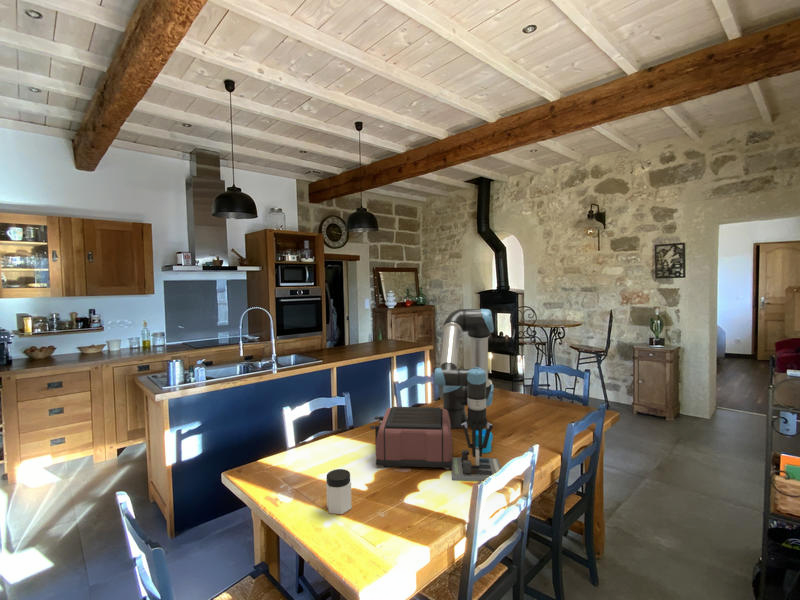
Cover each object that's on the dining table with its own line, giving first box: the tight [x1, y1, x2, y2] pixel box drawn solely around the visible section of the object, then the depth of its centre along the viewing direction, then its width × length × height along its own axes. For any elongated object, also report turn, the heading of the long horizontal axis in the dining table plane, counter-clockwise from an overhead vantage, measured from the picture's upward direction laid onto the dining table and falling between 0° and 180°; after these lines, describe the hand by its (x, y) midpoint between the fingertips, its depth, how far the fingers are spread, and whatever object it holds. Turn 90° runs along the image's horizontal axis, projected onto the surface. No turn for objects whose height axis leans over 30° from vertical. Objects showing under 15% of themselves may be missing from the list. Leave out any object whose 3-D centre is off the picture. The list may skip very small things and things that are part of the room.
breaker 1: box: [461, 449, 470, 462], centre depth 172 cm, size 3×3×4 cm
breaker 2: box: [463, 460, 471, 473], centre depth 162 cm, size 3×3×4 cm
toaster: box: [369, 406, 453, 471], centre depth 184 cm, size 31×36×18 cm
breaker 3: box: [468, 454, 476, 468], centre depth 167 cm, size 3×3×4 cm
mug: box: [476, 428, 494, 454], centre depth 189 cm, size 12×8×8 cm
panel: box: [451, 456, 502, 482], centre depth 167 cm, size 16×20×2 cm
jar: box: [325, 468, 353, 515], centre depth 141 cm, size 9×8×12 cm
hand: (477, 463), depth 167 cm, fingers closed
